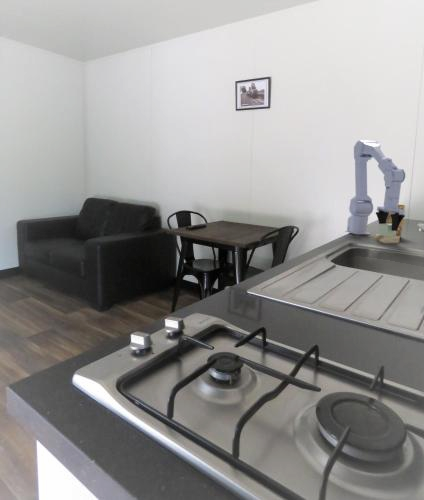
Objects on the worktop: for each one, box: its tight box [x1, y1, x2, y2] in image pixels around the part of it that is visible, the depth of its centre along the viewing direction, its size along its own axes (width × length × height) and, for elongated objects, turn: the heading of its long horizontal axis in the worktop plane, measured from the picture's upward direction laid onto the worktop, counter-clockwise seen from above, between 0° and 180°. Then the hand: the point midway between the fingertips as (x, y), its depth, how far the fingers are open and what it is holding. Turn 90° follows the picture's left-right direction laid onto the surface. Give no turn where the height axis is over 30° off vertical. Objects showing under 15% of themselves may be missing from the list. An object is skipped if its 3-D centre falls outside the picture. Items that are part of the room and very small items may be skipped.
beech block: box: [374, 234, 401, 244], centre depth 165 cm, size 7×7×3 cm
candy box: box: [386, 203, 406, 238], centre depth 175 cm, size 9×4×15 cm, turn 118°
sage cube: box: [377, 223, 396, 237], centre depth 164 cm, size 5×5×5 cm
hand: (388, 229), depth 164 cm, fingers open, 7 cm apart
